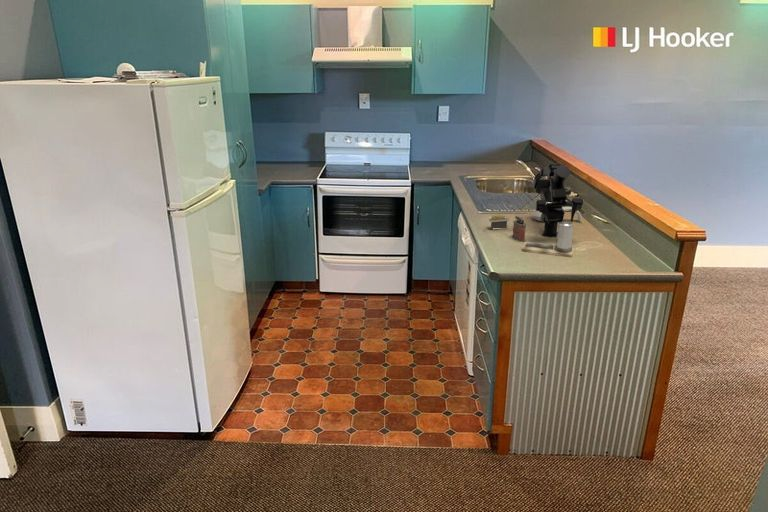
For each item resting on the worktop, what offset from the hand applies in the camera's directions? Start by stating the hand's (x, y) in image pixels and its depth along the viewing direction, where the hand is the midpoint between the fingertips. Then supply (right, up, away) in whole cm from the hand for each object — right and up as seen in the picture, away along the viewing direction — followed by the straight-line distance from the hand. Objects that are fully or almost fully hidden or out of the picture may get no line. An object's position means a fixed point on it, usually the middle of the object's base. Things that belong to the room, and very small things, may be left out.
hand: (560, 222), depth 229 cm
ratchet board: (-6, -12, -2) cm, 13 cm away
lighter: (-15, -7, +12) cm, 20 cm away
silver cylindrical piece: (0, -10, -5) cm, 12 cm away
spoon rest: (+11, +3, +40) cm, 41 cm away
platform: (-21, -2, +28) cm, 34 cm away
